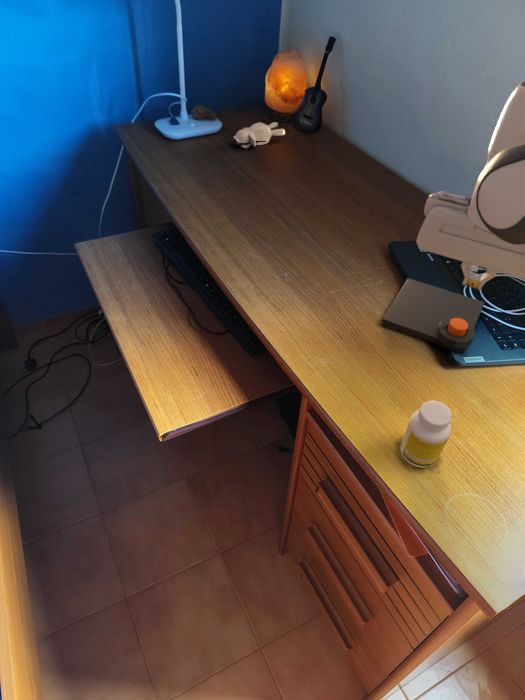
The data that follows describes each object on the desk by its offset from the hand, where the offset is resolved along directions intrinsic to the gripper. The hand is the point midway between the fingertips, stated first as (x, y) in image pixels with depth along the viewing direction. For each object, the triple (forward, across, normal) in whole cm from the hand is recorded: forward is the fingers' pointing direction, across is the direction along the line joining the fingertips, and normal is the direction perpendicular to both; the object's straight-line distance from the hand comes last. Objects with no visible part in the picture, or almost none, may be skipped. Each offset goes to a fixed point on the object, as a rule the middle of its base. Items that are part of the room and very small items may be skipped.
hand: (472, 285), depth 74 cm
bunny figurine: (+14, -74, +57) cm, 95 cm away
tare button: (+10, 0, 0) cm, 10 cm away
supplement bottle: (+13, +2, -25) cm, 28 cm away
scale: (+13, -5, +5) cm, 14 cm away
